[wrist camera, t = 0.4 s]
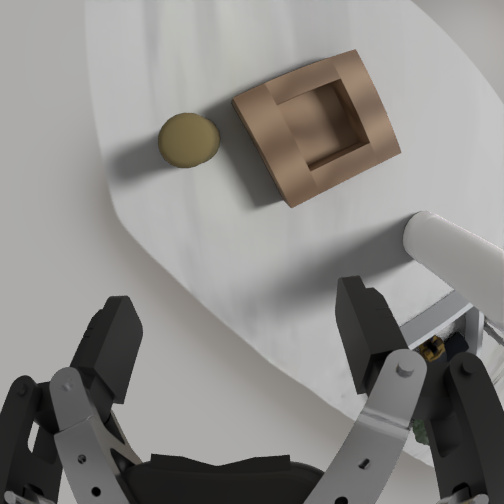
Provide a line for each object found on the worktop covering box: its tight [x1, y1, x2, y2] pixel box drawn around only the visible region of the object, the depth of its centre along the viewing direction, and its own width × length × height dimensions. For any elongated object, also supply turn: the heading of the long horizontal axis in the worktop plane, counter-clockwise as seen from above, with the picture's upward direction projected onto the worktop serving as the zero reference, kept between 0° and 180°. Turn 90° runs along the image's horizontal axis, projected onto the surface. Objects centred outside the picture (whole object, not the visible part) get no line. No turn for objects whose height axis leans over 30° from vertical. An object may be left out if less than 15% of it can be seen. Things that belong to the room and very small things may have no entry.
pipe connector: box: [418, 332, 469, 362], centre depth 50 cm, size 12×5×15 cm
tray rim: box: [399, 290, 484, 358], centre depth 49 cm, size 24×24×5 cm
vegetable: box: [412, 420, 430, 446], centre depth 58 cm, size 12×13×15 cm
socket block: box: [232, 49, 401, 208], centre depth 32 cm, size 14×16×4 cm
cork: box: [158, 113, 220, 168], centre depth 28 cm, size 6×6×11 cm
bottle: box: [403, 211, 504, 324], centre depth 27 cm, size 8×8×30 cm
